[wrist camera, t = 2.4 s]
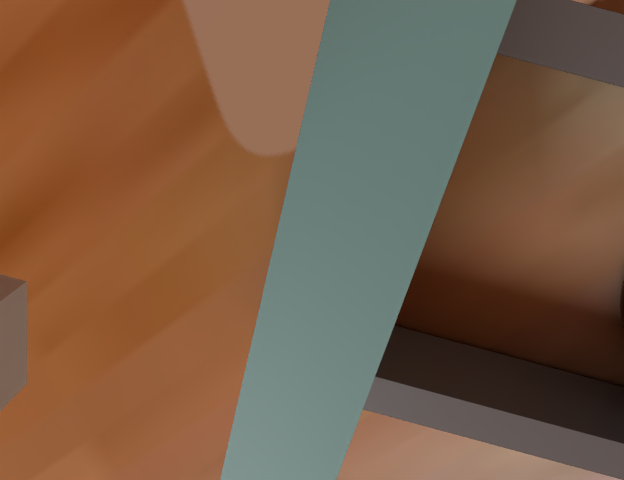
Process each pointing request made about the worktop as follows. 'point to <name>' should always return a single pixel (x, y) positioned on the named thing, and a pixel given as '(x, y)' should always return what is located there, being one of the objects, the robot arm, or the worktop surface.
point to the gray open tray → (404, 246)
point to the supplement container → (622, 304)
